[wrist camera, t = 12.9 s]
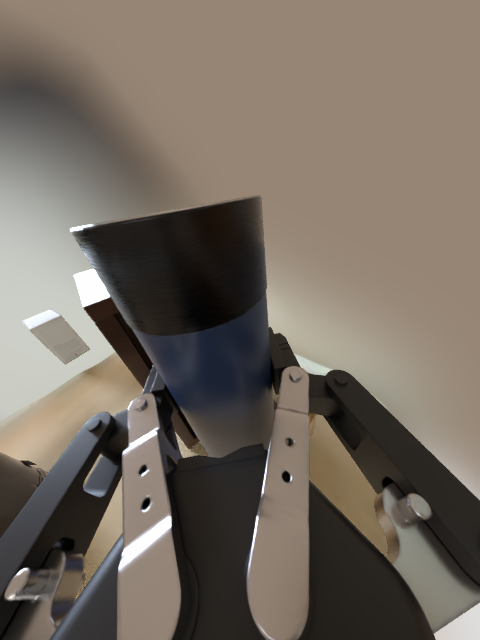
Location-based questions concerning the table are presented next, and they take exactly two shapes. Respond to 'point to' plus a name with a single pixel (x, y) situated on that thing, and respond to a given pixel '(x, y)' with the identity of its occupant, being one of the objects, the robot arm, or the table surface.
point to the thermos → (197, 310)
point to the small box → (56, 335)
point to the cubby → (123, 340)
